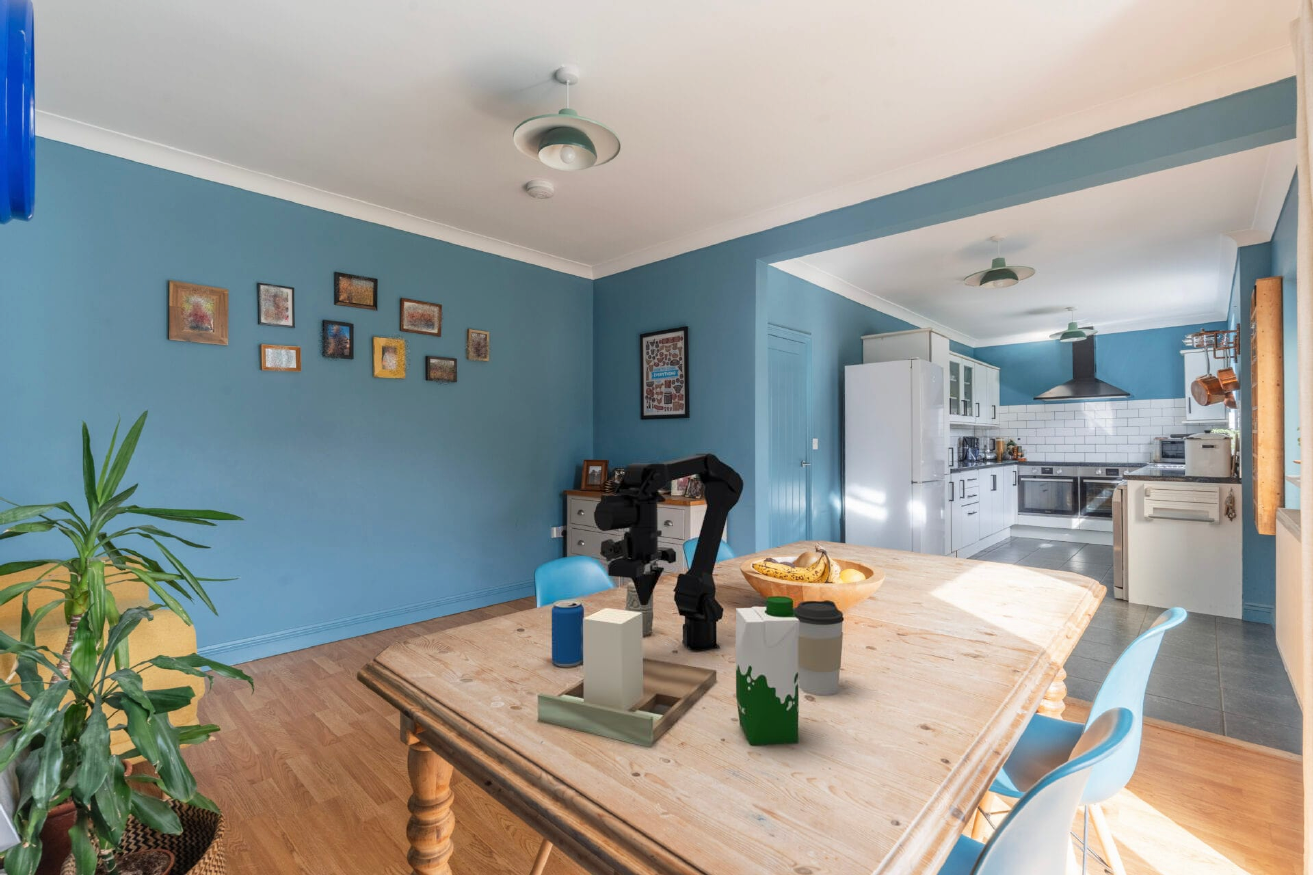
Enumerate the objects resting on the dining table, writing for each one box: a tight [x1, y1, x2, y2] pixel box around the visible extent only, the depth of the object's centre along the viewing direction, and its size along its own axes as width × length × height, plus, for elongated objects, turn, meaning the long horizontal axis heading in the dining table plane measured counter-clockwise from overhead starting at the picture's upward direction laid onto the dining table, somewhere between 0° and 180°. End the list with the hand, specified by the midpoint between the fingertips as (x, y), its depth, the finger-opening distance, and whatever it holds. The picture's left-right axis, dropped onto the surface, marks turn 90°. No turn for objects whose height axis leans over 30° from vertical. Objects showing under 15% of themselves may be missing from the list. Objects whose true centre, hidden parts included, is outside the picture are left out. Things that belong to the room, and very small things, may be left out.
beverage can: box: [551, 598, 585, 668], centre depth 121 cm, size 6×6×12 cm
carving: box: [624, 580, 654, 637], centre depth 139 cm, size 6×8×12 cm
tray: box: [537, 657, 717, 748], centre depth 103 cm, size 27×20×4 cm
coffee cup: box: [793, 599, 845, 696], centre depth 107 cm, size 9×9×15 cm
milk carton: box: [735, 595, 800, 746], centre depth 90 cm, size 9×9×20 cm
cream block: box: [582, 607, 644, 711], centre depth 97 cm, size 7×7×14 cm
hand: (644, 604), depth 119 cm, fingers closed
